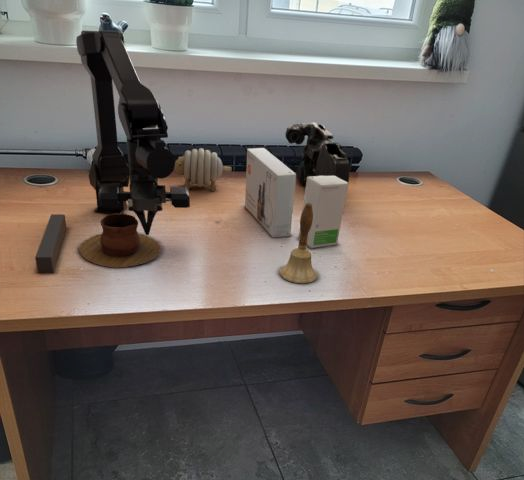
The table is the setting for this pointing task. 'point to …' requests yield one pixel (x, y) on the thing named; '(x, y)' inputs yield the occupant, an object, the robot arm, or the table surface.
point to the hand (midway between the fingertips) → (147, 234)
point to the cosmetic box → (325, 209)
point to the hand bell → (301, 254)
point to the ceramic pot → (119, 243)
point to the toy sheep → (200, 168)
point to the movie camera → (318, 152)
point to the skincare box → (269, 191)
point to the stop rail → (51, 244)
